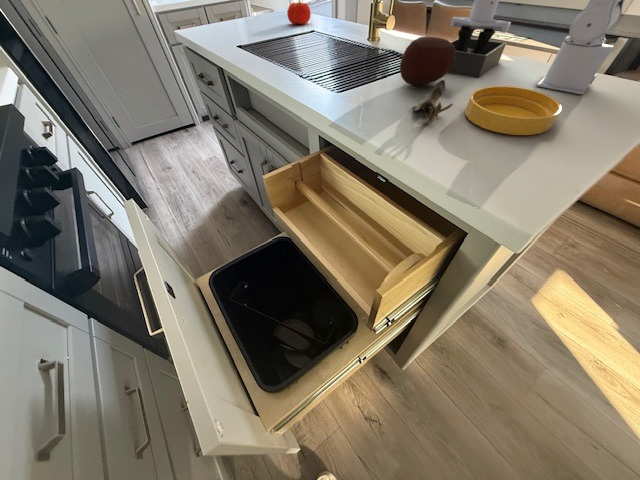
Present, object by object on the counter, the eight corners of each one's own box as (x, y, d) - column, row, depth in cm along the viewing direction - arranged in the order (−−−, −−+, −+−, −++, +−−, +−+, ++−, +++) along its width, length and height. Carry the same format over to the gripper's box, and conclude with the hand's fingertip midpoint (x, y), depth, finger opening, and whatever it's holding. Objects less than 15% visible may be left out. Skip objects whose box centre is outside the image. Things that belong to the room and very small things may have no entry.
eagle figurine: (458, 120, 53) (450, 94, 58) (448, 90, 49) (441, 65, 53) (419, 137, 57) (415, 112, 62) (407, 112, 53) (403, 86, 57)
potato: (455, 89, 67) (471, 39, 59) (406, 96, 65) (416, 44, 58) (434, 75, 74) (445, 28, 66) (389, 80, 73) (395, 33, 65)
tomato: (286, 22, 130) (284, 2, 125) (308, 20, 132) (307, 0, 126) (290, 27, 123) (288, 5, 118) (313, 24, 125) (312, 3, 119)
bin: (498, 63, 79) (506, 42, 75) (478, 77, 72) (486, 56, 68) (454, 56, 85) (460, 36, 81) (432, 68, 78) (437, 48, 74)
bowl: (559, 115, 56) (570, 97, 53) (537, 146, 48) (549, 127, 46) (481, 97, 63) (487, 80, 61) (451, 121, 56) (457, 104, 53)
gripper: (452, -2, 69) (437, 59, 79) (513, 1, 62) (488, 68, 72) (464, -6, 72) (447, 54, 82) (523, -3, 65) (497, 62, 75)
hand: (467, 60), depth 77 cm, fingers closed on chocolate, 3 cm apart
